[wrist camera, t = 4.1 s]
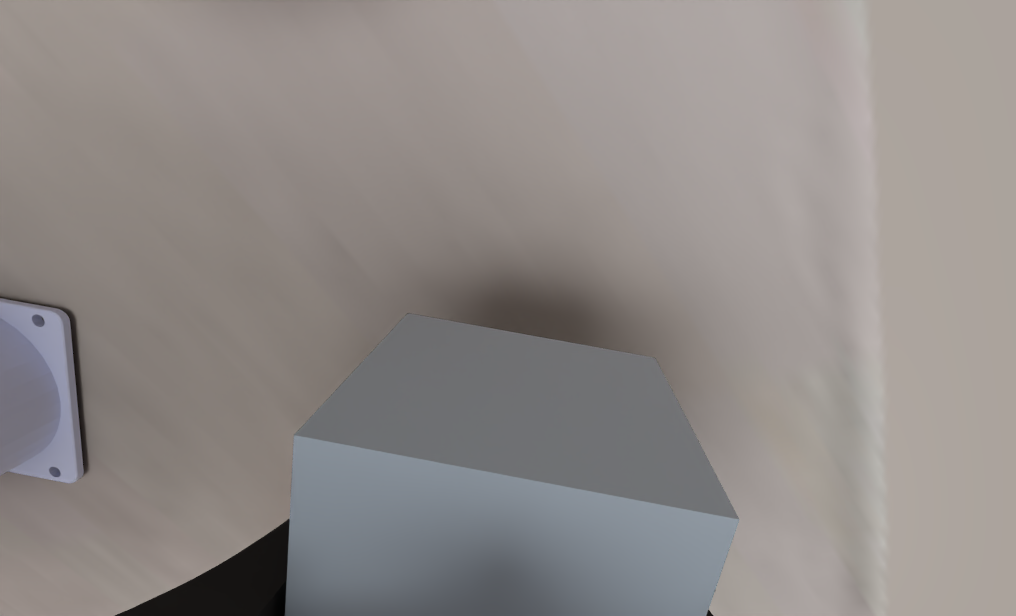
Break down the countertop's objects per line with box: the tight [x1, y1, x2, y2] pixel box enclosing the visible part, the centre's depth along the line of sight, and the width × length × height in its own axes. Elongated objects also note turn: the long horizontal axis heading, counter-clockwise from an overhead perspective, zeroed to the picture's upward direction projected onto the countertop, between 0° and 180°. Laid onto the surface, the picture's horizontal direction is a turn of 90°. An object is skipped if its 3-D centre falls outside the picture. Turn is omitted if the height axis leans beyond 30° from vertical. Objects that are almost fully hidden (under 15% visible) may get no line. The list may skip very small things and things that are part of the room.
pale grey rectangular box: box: [285, 313, 739, 616], centre depth 11 cm, size 6×9×6 cm, turn 171°
